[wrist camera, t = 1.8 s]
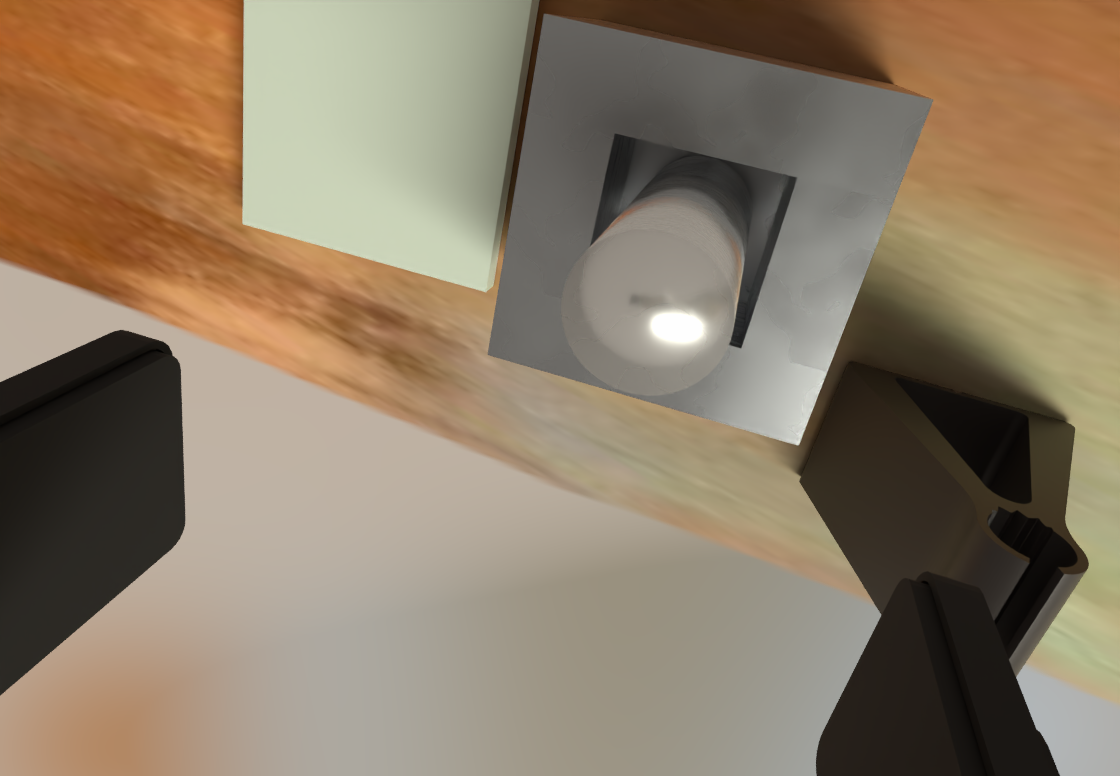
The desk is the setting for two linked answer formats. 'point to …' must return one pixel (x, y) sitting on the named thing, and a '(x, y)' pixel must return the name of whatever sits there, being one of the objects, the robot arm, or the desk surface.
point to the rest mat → (386, 127)
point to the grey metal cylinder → (662, 281)
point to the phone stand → (949, 497)
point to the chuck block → (748, 148)
